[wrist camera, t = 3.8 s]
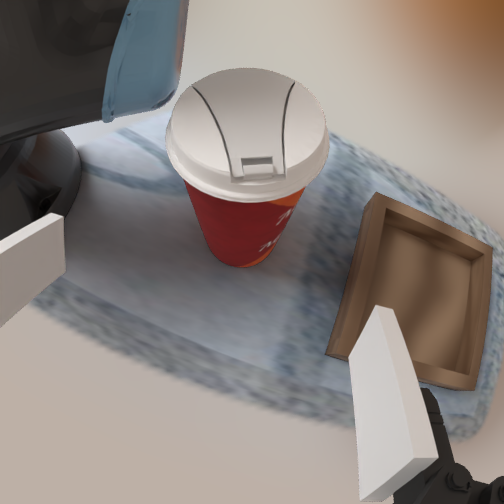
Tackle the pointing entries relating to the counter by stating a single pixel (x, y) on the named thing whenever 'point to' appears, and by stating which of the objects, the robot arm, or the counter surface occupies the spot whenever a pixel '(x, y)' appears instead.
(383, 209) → the walnut tray
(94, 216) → the counter surface
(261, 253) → the coffee cup
